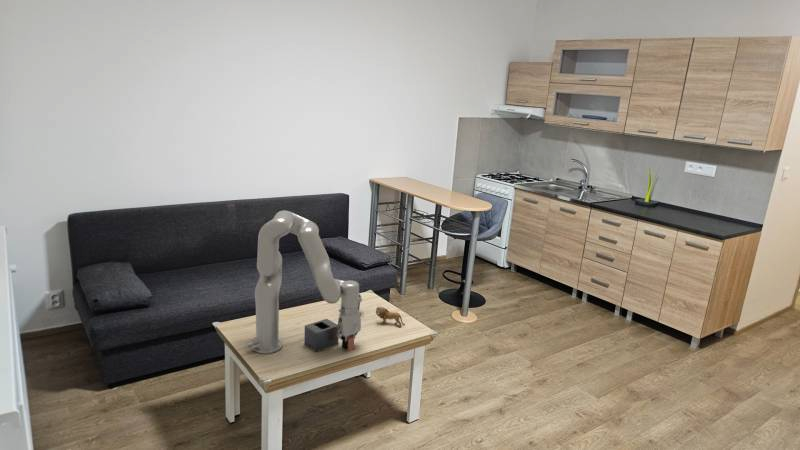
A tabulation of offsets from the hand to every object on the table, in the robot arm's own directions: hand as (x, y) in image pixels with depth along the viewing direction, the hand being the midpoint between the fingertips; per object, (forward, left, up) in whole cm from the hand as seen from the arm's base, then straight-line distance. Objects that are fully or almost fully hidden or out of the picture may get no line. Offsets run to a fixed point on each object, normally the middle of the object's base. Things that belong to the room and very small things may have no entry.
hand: (347, 347), depth 232 cm
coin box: (-7, +10, 0) cm, 12 cm away
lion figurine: (+31, +6, -1) cm, 31 cm away
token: (0, 0, 0) cm, 0 cm away
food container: (+26, +28, -1) cm, 38 cm away
